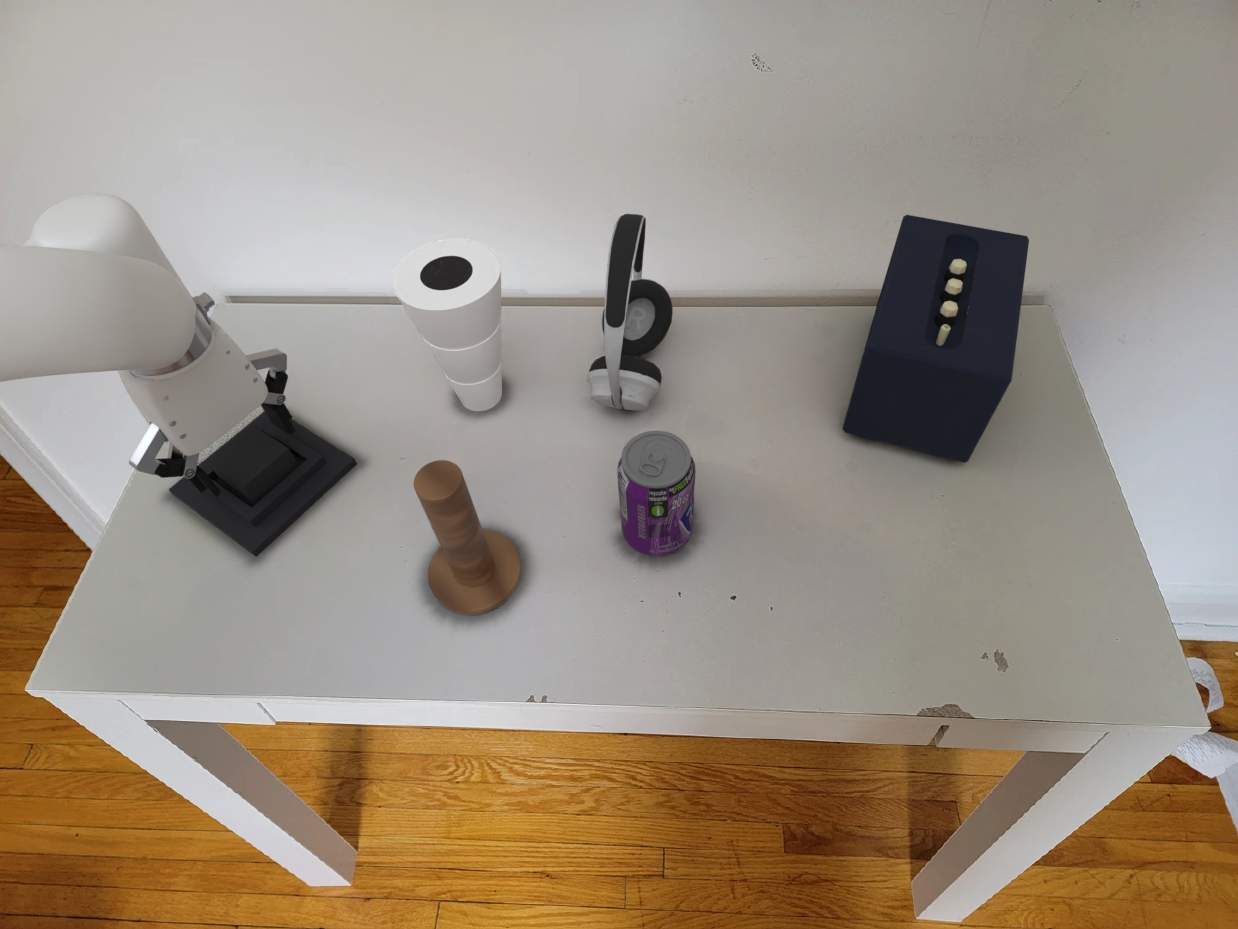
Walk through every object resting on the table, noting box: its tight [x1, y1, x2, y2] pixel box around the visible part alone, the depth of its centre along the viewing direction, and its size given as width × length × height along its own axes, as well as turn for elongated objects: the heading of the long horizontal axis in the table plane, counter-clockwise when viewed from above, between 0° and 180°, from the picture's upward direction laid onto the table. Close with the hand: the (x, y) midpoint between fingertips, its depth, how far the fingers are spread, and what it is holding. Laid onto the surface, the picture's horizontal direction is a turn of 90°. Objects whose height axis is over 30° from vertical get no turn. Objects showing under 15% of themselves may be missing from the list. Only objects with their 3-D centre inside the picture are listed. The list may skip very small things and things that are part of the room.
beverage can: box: [616, 430, 696, 557], centre depth 72 cm, size 7×7×12 cm
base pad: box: [168, 410, 358, 557], centre depth 82 cm, size 14×14×2 cm
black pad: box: [207, 425, 300, 505], centre depth 81 cm, size 6×6×4 cm
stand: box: [413, 459, 523, 617], centre depth 69 cm, size 9×9×16 cm
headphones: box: [586, 213, 674, 411], centre depth 82 cm, size 19×8×20 cm, turn 172°
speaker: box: [842, 214, 1030, 464], centre depth 81 cm, size 22×13×15 cm, turn 159°
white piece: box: [391, 237, 503, 412], centre depth 82 cm, size 11×11×18 cm
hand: (248, 457), depth 80 cm, fingers open, 9 cm apart
